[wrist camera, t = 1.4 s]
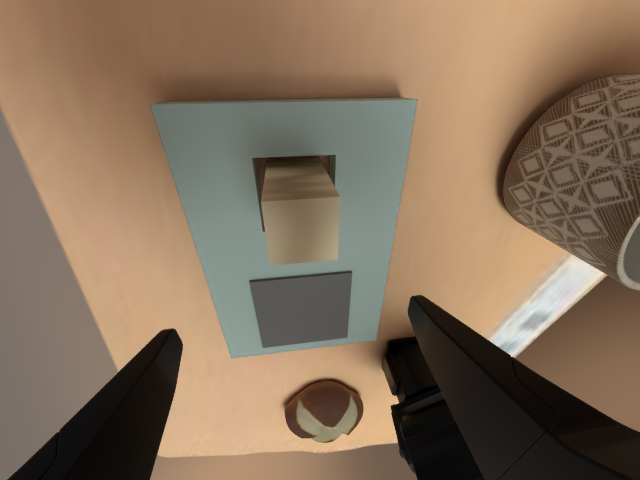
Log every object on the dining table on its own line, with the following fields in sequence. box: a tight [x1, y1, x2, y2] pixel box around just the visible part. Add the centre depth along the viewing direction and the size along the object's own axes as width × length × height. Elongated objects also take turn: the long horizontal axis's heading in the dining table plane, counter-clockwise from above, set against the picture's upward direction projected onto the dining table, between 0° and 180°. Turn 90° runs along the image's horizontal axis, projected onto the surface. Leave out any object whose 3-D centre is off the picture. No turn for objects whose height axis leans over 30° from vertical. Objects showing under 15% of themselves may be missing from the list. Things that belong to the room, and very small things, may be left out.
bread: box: [285, 381, 363, 443], centre depth 38 cm, size 11×11×5 cm
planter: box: [503, 73, 640, 290], centre depth 18 cm, size 13×13×10 cm
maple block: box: [261, 158, 340, 266], centre depth 17 cm, size 4×4×8 cm
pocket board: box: [150, 97, 417, 359], centre depth 23 cm, size 16×24×3 cm, turn 0°
